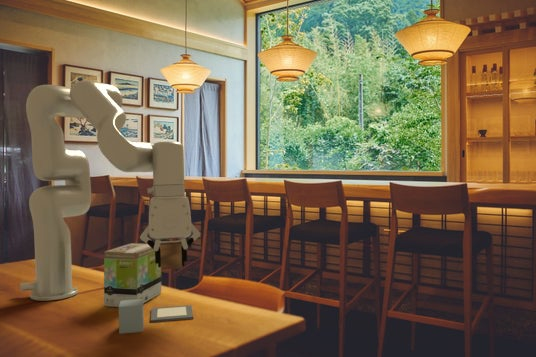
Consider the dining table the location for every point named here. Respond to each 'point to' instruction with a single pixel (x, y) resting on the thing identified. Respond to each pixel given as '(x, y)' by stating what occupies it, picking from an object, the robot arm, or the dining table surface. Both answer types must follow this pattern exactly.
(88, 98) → the robot arm
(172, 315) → the slate mat
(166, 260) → the walnut block
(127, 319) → the blue-grey block
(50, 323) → the dining table surface
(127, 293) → the tea box
